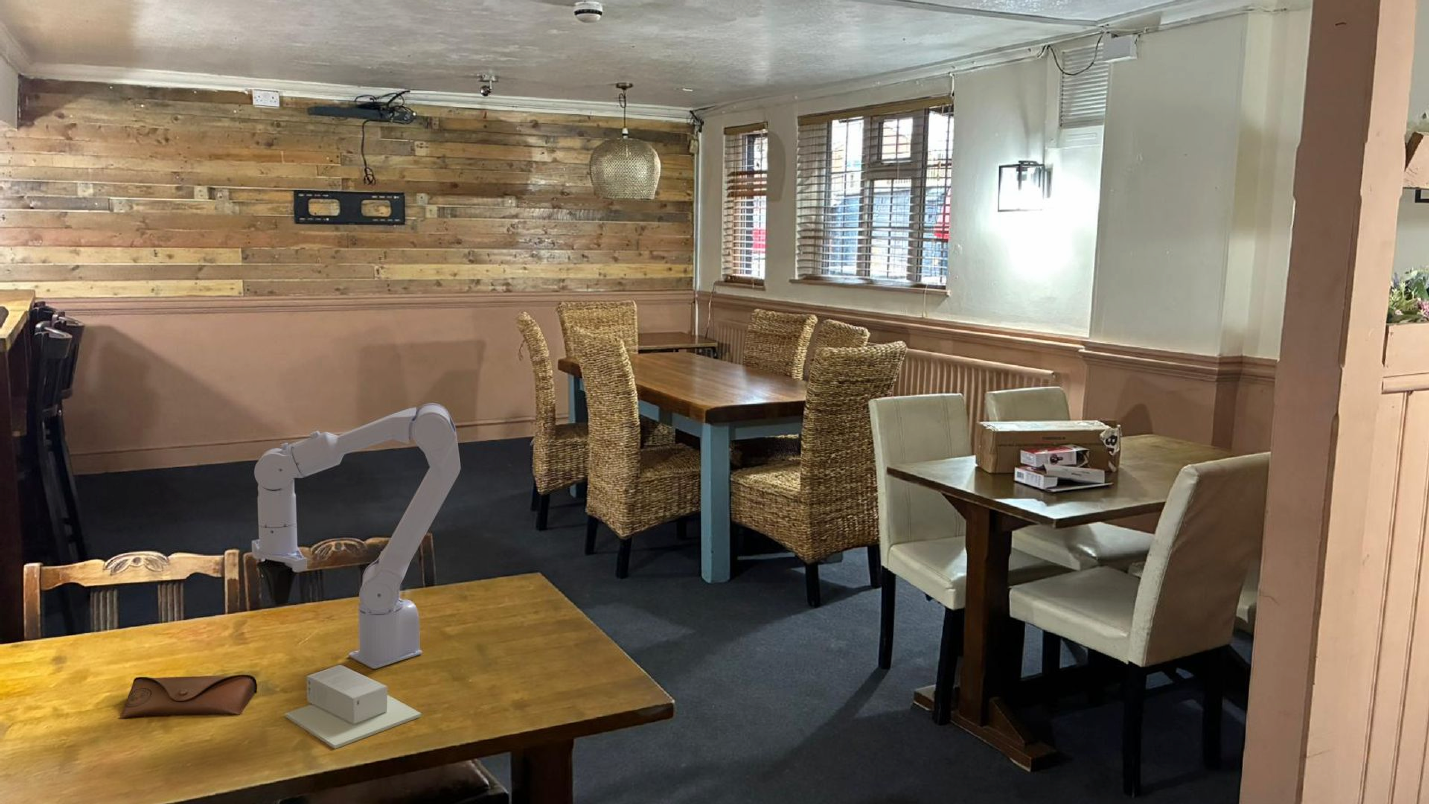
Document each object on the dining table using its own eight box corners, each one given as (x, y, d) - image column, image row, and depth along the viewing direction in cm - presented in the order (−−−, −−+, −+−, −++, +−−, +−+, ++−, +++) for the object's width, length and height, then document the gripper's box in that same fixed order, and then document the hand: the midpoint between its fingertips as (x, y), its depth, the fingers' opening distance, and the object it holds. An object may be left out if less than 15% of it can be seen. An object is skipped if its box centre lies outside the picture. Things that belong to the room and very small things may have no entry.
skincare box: (306, 702, 159) (352, 726, 152) (305, 675, 158) (352, 698, 151) (341, 689, 164) (388, 712, 157) (341, 663, 163) (388, 685, 156)
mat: (370, 688, 166) (370, 685, 166) (421, 716, 157) (421, 713, 157) (285, 716, 155) (285, 713, 155) (334, 748, 146) (334, 745, 146)
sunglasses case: (112, 720, 152) (119, 673, 154) (128, 724, 158) (135, 679, 161) (244, 715, 155) (248, 669, 157) (255, 719, 162) (259, 675, 164)
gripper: (232, 518, 172) (235, 597, 174) (275, 537, 162) (278, 621, 164) (274, 511, 177) (276, 588, 179) (318, 528, 168) (320, 609, 170)
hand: (280, 603), depth 172 cm, fingers closed
